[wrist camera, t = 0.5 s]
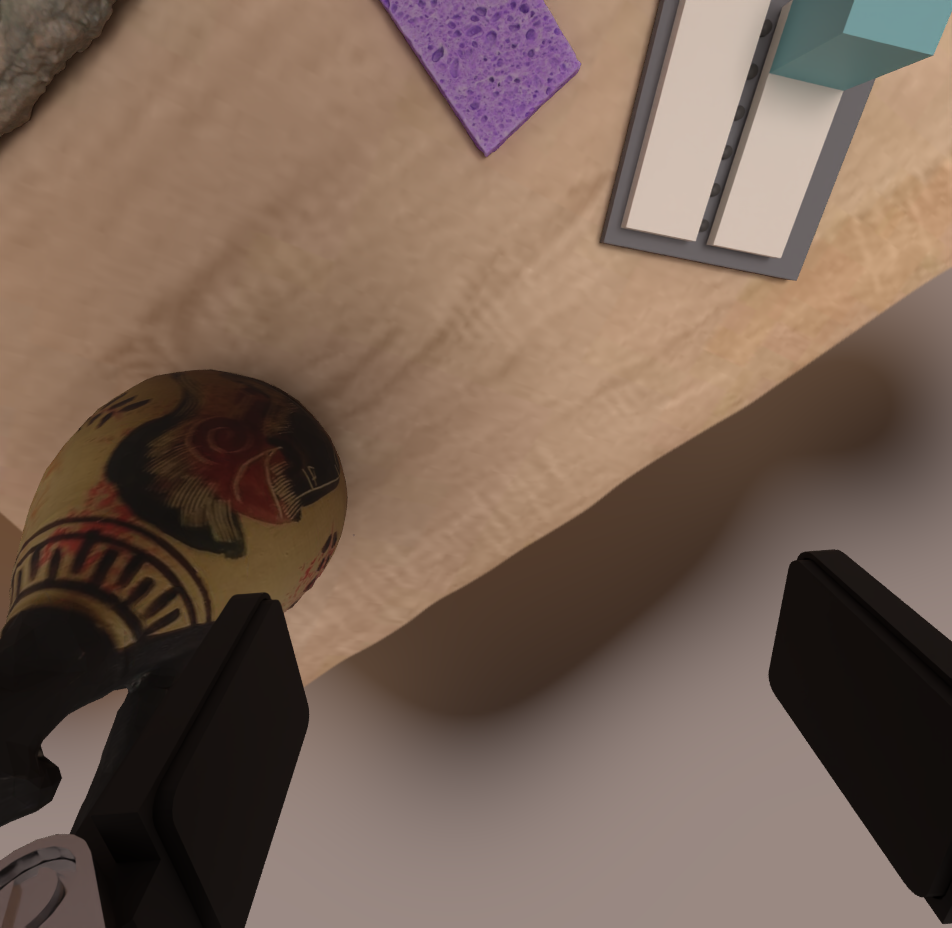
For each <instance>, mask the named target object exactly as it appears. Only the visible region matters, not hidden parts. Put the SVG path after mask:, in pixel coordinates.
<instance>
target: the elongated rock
mask: <svg viewBox="0 0 952 928" xmlns="http://www.w3.org/2000/svg"><path fill="white" fill-rule="evenodd" d="M116 1H117V0H0V138H1V136H2V134H5V133H10V132H11V131H12V130H13V129H14V128H17V127H20V126H22V125H23V124H24V123H25V122H27V121H28V120H30V116H31V110H32V109H33V105H34V103H35V102H36V101H37V100H38V99H39V97H40V95H41V94H42V93H45V91H46V88H45V87H46V85H49V84H50V82H51V80H52V79H53V78H54V75H55V74H58V73H59V72H60V71H61V70H63V69H64V68H65V67H66V61H67V60H68V59H70V58H71V57H72V55H73V54H75V52H80V53H81V52H83V51H84V50H85V49H87V47H88V46H89V45H90V44H91V42H92V41H91V40H93V39H94V38H97V37H99V36H100V35H101V33H102V29H103V26H104V25H105V23H106V21H107V20H109V18H110V16H111V14H112V12H113V10H112V4H113V3H115V2H116Z"/></svg>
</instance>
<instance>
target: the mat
mask: <svg viewBox="0 0 952 928" xmlns="http://www.w3.org/2000/svg"><path fill="white" fill-rule="evenodd" d="M679 1H680V0H660V3H659V7H658V11H657V15H656V19H655V23H654V27H653V31H652V35H651V39H650V43H649V47H648V51H647V55H646V59H645V63H644V67H643V71H642V75H641V79H640V83H639V87H638V91H637V95H636V99H635V103H634V107H633V111H632V116H631V120H630V124H629V128H628V132H627V136H626V140H625V144H624V148H623V152H622V156H621V160H620V164H619V168H618V172H617V176H616V180H615V184H614V188H613V192H612V196H611V200H610V204H609V208H608V212H607V216H606V220H605V224H604V228H603V232H602V236H601V240H600V242H601V243H606V244H611V245H616V246H621V247H626V248H631V249H636V250H641V251H646V252H651V253H656V254H661V255H666V256H671V257H676V258H681V259H686V260H691V261H696V262H701V263H706V264H711V265H716V266H721V267H726V268H731V269H737V270H742V271H747V272H752V273H757V274H762V275H767V276H772V277H777V278H782V279H787V280H795V281H797V278H798V276H799V273H800V271H801V268H802V266H803V263H804V260H805V258H806V255H807V253H808V250H809V248H810V245H811V243H812V240H813V237H814V235H815V232H816V230H817V227H818V225H819V222H820V219H821V217H822V214H823V212H824V209H825V207H826V204H827V202H828V199H829V196H830V194H831V191H832V189H833V186H834V184H835V181H836V179H837V176H838V173H839V171H840V168H841V166H842V163H843V161H844V158H845V156H846V153H847V150H848V148H849V145H850V143H851V140H852V138H853V135H854V132H855V130H856V127H857V125H858V122H859V120H860V117H861V115H862V112H863V109H864V107H865V104H866V102H867V99H868V97H869V94H870V92H871V89H872V86H873V84H874V81H875V79H876V78H875V79H872V80H870V81H867V82H865V83H862V84H859V85H857V86H854V87H852V88H849V89H847V90H844V91H843V94H842V96H841V99H840V102H839V104H838V107H837V110H836V112H835V115H834V118H833V120H832V123H831V126H830V128H829V131H828V134H827V136H826V139H825V142H824V144H823V147H822V150H821V152H820V155H819V158H818V160H817V163H816V166H815V168H814V171H813V174H812V176H811V179H810V182H809V184H808V187H807V190H806V192H805V195H804V198H803V200H802V203H801V206H800V209H799V211H798V214H797V217H796V219H795V222H794V225H793V227H792V230H791V233H790V235H789V238H788V241H787V243H786V246H785V249H784V251H783V254H782V257H781V258H770V257H765V256H760V255H755V254H750V253H746V252H741V251H736V250H731V249H726V248H721V247H716V246H711V245H706V244H707V241H708V238H709V235H710V232H711V228H712V225H713V222H714V219H715V216H716V213H717V210H718V207H719V204H720V200H721V197H722V194H723V191H724V188H725V185H726V182H727V179H728V175H729V172H730V169H731V166H732V163H733V160H734V157H735V154H736V150H737V147H738V144H739V141H740V138H741V135H742V132H743V129H744V126H745V122H746V119H747V116H748V113H749V110H750V107H751V104H752V101H753V97H754V94H755V91H756V88H757V85H758V82H759V79H760V76H761V72H762V69H763V66H764V63H765V60H766V57H767V54H768V51H769V47H770V44H771V41H772V38H773V35H774V32H775V29H776V26H777V23H778V19H779V16H780V13H781V10H782V7H783V6H784V5H786V4H787V3H789V2H790V1H791V0H771V1H770V5H769V8H768V11H767V14H766V17H765V20H766V19H769V20H770V21H771V22H772V30H771V31H770V33H769V34H767V35H766V36H764V37H759V40H758V43H757V46H756V49H755V53H754V56H753V59H752V62H751V64H752V63H754V64H756V65H757V66H758V73H757V75H756V76H755V77H754V78H752V79H751V80H746V81H745V85H744V88H743V91H742V94H741V97H740V101H739V104H738V106H739V105H741V106H743V107H744V108H745V114H744V116H743V118H741V119H740V120H737V121H734V120H733V123H732V126H731V129H730V133H729V136H728V139H727V142H726V145H729V146H731V147H732V150H733V152H732V155H731V156H730V157H729V158H728V159H724V160H722V159H721V161H720V165H719V168H718V171H717V174H716V177H715V181H714V183H718V184H719V185H720V187H721V190H720V193H719V194H718V195H716V196H713V197H711V196H710V197H709V200H708V203H707V206H706V209H705V213H704V216H703V219H706V220H708V222H709V228H708V229H707V230H706V231H704V232H698V235H697V238H696V241H684V240H679V239H674V238H669V237H664V236H659V235H654V234H650V233H645V232H640V231H635V230H630V229H625V228H621V224H622V220H623V216H624V213H625V209H626V205H627V201H628V197H629V193H630V189H631V186H632V182H633V178H634V174H635V170H636V166H637V163H638V159H639V155H640V151H641V147H642V143H643V139H644V136H645V132H646V128H647V124H648V120H649V116H650V112H651V109H652V105H653V101H654V97H655V93H656V89H657V85H658V82H659V78H660V74H661V70H662V66H663V62H664V59H665V55H666V51H667V47H668V43H669V39H670V35H671V32H672V28H673V24H674V20H675V16H676V12H677V8H678V5H679ZM726 145H725V146H726Z"/></svg>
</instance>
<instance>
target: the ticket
mask: <svg viewBox="0 0 952 928" xmlns="http://www.w3.org/2000/svg"><path fill="white" fill-rule="evenodd" d="M770 1H771V0H680V1H679V5H678V8H677V12H676V16H675V20H674V24H673V28H672V32H671V35H670V39H669V43H668V47H667V51H666V55H665V59H664V62H663V66H662V70H661V74H660V78H659V82H658V85H657V89H656V93H655V97H654V101H653V105H652V109H651V112H650V116H649V120H648V124H647V128H646V132H645V136H644V139H643V143H642V147H641V151H640V155H639V159H638V163H637V166H636V170H635V174H634V178H633V182H632V186H631V189H630V193H629V197H628V201H627V205H626V209H625V213H624V216H623V220H622V224H621V228H625V229H630V230H635V231H640V232H645V233H650V234H654V235H659V236H664V237H669V238H674V239H679V240H684V241H696V238H697V235H698V232H704V231H706V230H707V229H708V228H709V222H708V220H706V219H703V216H704V213H705V209H706V206H707V203H708V200H709V197H710V196H711V197H713V196H716V195H718V194H719V193H720V190H721V187H720V185H719V184H718V183H714V181H715V177H716V174H717V171H718V168H719V165H720V161H721V159H722V160H724V159H728V158H729V157H730V156H731V155H732V152H733V150H732V147H731V146H729V145H726V142H727V139H728V136H729V133H730V129H731V126H732V123H733V120H734V121H737V120H740V119H741V118H743V116H744V114H745V108H744V107H743V106H741V105H739V106H738V104H739V101H740V97H741V94H742V91H743V88H744V85H745V81H746V80H751V79H752V78H754V77H755V76H756V75H757V73H758V66H757V65H756V64H754V63H752V64H751V62H752V59H753V56H754V53H755V49H756V46H757V43H758V40H759V37H764V36H766V35H767V34H769V33H770V31H771V30H772V22H771V21H770V20H769V19H766V20H765V17H766V14H767V11H768V8H769V5H770ZM725 145H726V146H725Z"/></svg>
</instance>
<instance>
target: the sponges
mask: <svg viewBox="0 0 952 928" xmlns="http://www.w3.org/2000/svg"><path fill="white" fill-rule="evenodd" d="M380 2H381V3H382V5H383V7H384V8H385V9H386V11H387V12H388V13H389V14H390V16H391V18H392V20H393V21H394V23H395V24H396V26H397V28H398V29H399V30H400V31H401V33H402V34H403V35H404V38H405V39H406V41H407V42H408V44H409V45H410V47H411V48H412V50H413V51H414V53H415V54H416V56H417V57H418V58H419V60H420V62H421V64H422V65H423V67H424V68H425V70H426V71H427V73H428V74H429V75H430V77H431V78H432V80H433V81H434V82H435V83H436V85H437V86H438V88H439V90H440V92H441V93H442V95H443V96H444V97H445V98H446V100H447V102H448V103H449V105H450V107H451V108H452V109H453V111H454V113H455V114H456V116H457V117H458V118H459V120H460V121H461V123H462V124H463V126H464V128H465V129H466V131H467V133H468V135H469V136H470V137H471V139H472V140H473V142H474V143H475V145H476V146H477V148H478V149H479V150H480V151H482V152H483V153H484V156H485V157H488V155H490V154H491V153H492V152H495V151H496V150H497V149H498V148H499V147H500V146H501V145H502V144H503V143H504V142H505V141H506V139H507V138H508V137H509V136H511V135H512V134H513V133H514V132H515V131H517V130H518V129H519V128H520V127H521V126H522V125H523V124H524V123H525V122H526V121H527V120H528V119H529V118H530V117H531V116H532V115H533V114H534V113H535V112H536V111H537V110H538V109H539V107H540V106H541V105H542V104H544V103H545V102H546V101H547V100H549V99H550V98H551V97H552V96H553V95H554V94H555V93H556V92H557V91H558V90H559V89H560V88H562V87H563V86H564V85H565V84H566V83H567V82H568V81H569V80H570V79H571V78H572V77H574V76H575V75H576V74H577V73H578V71H579V69H580V66H581V63H580V62H579V61H578V60H577V58H576V55H575V53H574V51H573V50H572V48H571V46H570V44H569V43H568V41H567V40H566V38H565V37H564V35H563V34H562V32H561V30H560V29H559V27H558V25H557V23H556V21H555V19H554V17H553V15H552V13H551V12H550V11H549V9H548V7H547V6H546V5H545V3H544V1H543V0H380Z"/></svg>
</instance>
